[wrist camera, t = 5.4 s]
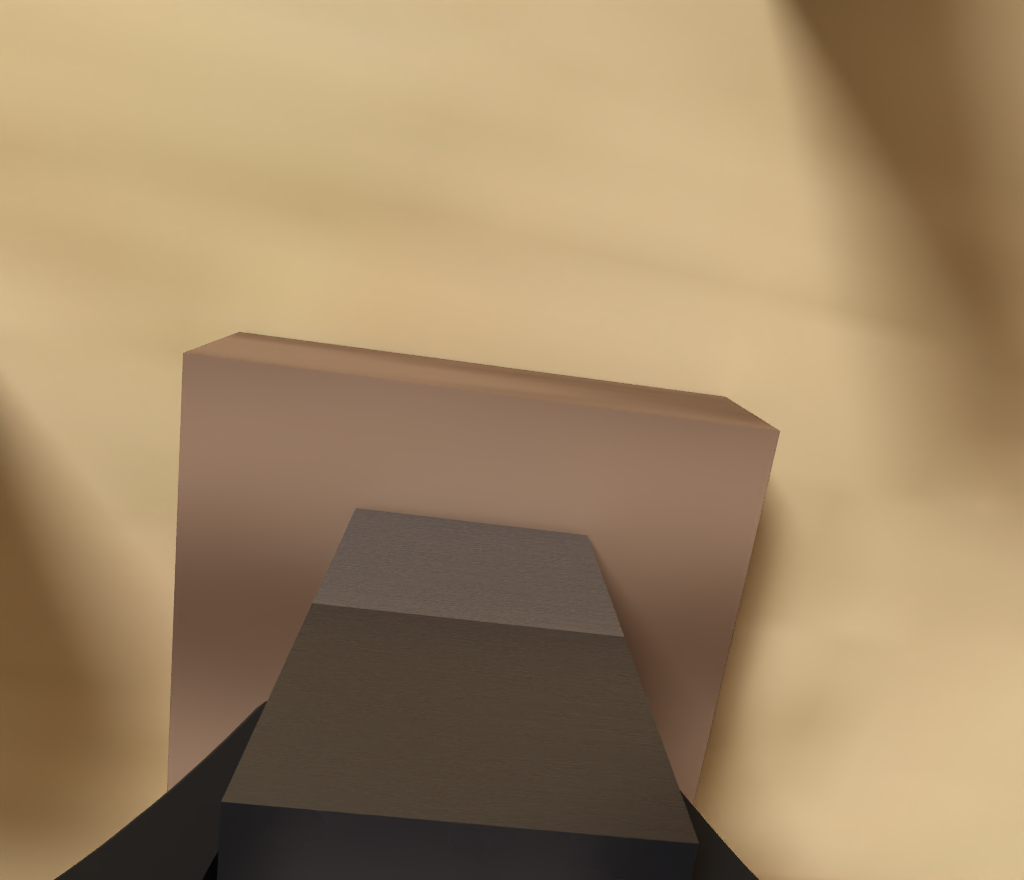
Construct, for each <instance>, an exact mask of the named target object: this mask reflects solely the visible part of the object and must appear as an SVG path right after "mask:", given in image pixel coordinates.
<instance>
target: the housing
mask: <svg viewBox="0 0 1024 880" xmlns="http://www.w3.org/2000/svg"><path fill="white" fill-rule="evenodd" d="M698 847H699V842H698V839H697V836H696V833H695V831H694V828H693V825H692V822H691V819H690V817H689V814H688V811H687V808H686V806H685V803H684V800H683V797H682V795H681V792H680V789H679V786H678V784H677V781H676V778H675V775H674V773H673V770H672V767H671V764H670V762H669V759H668V756H667V753H666V750H665V748H664V745H663V742H662V739H661V737H660V734H659V731H658V728H657V726H656V723H655V720H654V717H653V715H652V712H651V709H650V706H649V704H648V701H647V698H646V695H645V692H644V690H643V687H642V684H641V681H640V679H639V676H638V673H637V670H636V668H635V665H634V662H633V659H632V657H631V654H630V651H629V648H628V646H627V643H626V640H625V637H624V634H623V632H622V629H621V626H620V623H619V621H618V618H617V615H616V612H615V610H614V607H613V604H612V601H611V599H610V596H609V593H608V590H607V588H606V585H605V582H604V579H603V577H602V574H601V571H600V568H599V565H598V563H597V560H596V557H595V554H594V552H593V549H592V546H591V543H590V541H589V538H588V535H580V534H572V533H564V532H555V531H547V530H538V529H530V528H521V527H513V526H504V525H496V524H487V523H479V522H470V521H462V520H453V519H445V518H436V517H428V516H419V515H411V514H402V513H394V512H385V511H377V510H368V509H360V508H356V509H355V511H354V513H353V515H352V518H351V520H350V522H349V524H348V526H347V529H346V531H345V533H344V535H343V537H342V539H341V542H340V544H339V546H338V548H337V550H336V553H335V555H334V557H333V559H332V561H331V563H330V566H329V568H328V570H327V572H326V574H325V576H324V579H323V581H322V583H321V585H320V587H319V590H318V592H317V594H316V596H315V598H314V600H313V603H312V605H311V607H310V609H309V611H308V614H307V616H306V618H305V620H304V622H303V624H302V627H301V629H300V631H299V633H298V635H297V637H296V640H295V642H294V644H293V646H292V648H291V651H290V653H289V655H288V657H287V659H286V661H285V664H284V666H283V668H282V670H281V672H280V674H279V677H278V679H277V681H276V683H275V685H274V688H273V690H272V692H271V694H270V696H269V698H268V701H267V703H266V705H265V707H264V709H263V712H262V714H261V716H260V718H259V720H258V722H257V725H256V727H255V729H254V731H253V733H252V735H251V738H250V740H249V742H248V744H247V746H246V749H245V751H244V753H243V755H242V757H241V759H240V762H239V764H238V766H237V768H236V770H235V773H234V775H233V777H232V779H231V781H230V783H229V786H228V788H227V790H226V792H225V794H224V796H223V799H222V801H221V813H220V831H219V850H218V868H217V880H691V876H692V872H693V868H694V864H695V860H696V856H697V852H698Z"/></svg>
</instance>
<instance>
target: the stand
mask: <svg viewBox="0 0 1024 880" xmlns="http://www.w3.org/2000/svg"><path fill="white" fill-rule="evenodd" d="M779 433H780V431H779V430H778V429H776V428H774V427H773V426H771V425H770V424H768V423H766V422H765V421H763V420H762V419H760V418H758V417H757V416H755V415H754V414H752V413H750V412H749V411H747V410H746V409H744V408H742V407H741V406H739V405H738V404H736V403H734V402H733V401H731V400H730V399H728V398H726V397H722V396H715V395H707V394H700V393H692V392H685V391H677V390H670V389H662V388H655V387H647V386H640V385H632V384H625V383H617V382H610V381H602V380H595V379H587V378H580V377H572V376H565V375H557V374H550V373H542V372H535V371H527V370H520V369H512V368H505V367H497V366H490V365H482V364H475V363H467V362H460V361H452V360H445V359H437V358H430V357H422V356H415V355H407V354H400V353H392V352H385V351H377V350H370V349H362V348H355V347H347V346H340V345H332V344H325V343H317V342H310V341H302V340H295V339H287V338H280V337H272V336H265V335H257V334H250V333H242V332H238V333H236V334H233V335H230V336H228V337H225V338H222V339H220V340H217V341H214V342H212V343H209V344H206V345H203V346H201V347H198V348H195V349H193V350H190V351H187V352H185V353H183V371H182V399H181V426H180V454H179V481H178V509H177V536H176V563H175V591H174V618H173V646H172V673H171V701H170V728H169V755H168V783H167V792H168V791H169V790H170V789H171V788H172V787H173V786H174V785H176V784H177V783H178V782H179V781H180V780H181V779H182V778H183V777H185V776H186V775H187V774H188V773H189V772H190V771H191V770H192V769H194V768H195V767H196V766H197V765H198V764H199V763H200V762H201V761H202V760H204V759H205V758H206V757H207V756H208V755H209V754H210V753H211V752H212V751H213V750H214V749H215V748H216V747H217V746H218V745H219V744H220V743H222V742H223V741H224V740H225V739H226V738H227V737H228V736H229V735H230V734H231V733H232V732H233V731H234V730H235V729H236V728H237V727H238V726H239V725H240V724H241V723H242V722H243V721H244V720H245V719H246V718H247V717H248V716H249V715H250V714H251V713H252V712H253V711H254V710H255V709H256V708H257V707H258V706H260V705H261V704H262V703H264V702H265V701H268V698H269V696H270V694H271V692H272V690H273V688H274V685H275V683H276V681H277V679H278V677H279V674H280V672H281V670H282V668H283V666H284V664H285V661H286V659H287V657H288V655H289V653H290V651H291V648H292V646H293V644H294V642H295V640H296V637H297V635H298V633H299V631H300V629H301V627H302V624H303V622H304V620H305V618H306V616H307V614H308V611H309V609H310V607H311V605H312V603H313V600H314V598H315V596H316V594H317V592H318V590H319V587H320V585H321V583H322V581H323V579H324V576H325V574H326V572H327V570H328V568H329V566H330V563H331V561H332V559H333V557H334V555H335V553H336V550H337V548H338V546H339V544H340V542H341V539H342V537H343V535H344V533H345V531H346V529H347V526H348V524H349V522H350V520H351V518H352V515H353V513H354V511H355V509H356V508H360V509H368V510H377V511H385V512H394V513H402V514H411V515H419V516H428V517H436V518H445V519H453V520H462V521H470V522H479V523H487V524H496V525H504V526H513V527H521V528H530V529H538V530H547V531H555V532H564V533H572V534H580V535H588V538H589V541H590V543H591V546H592V549H593V552H594V554H595V557H596V560H597V563H598V565H599V568H600V571H601V574H602V577H603V579H604V582H605V585H606V588H607V590H608V593H609V596H610V599H611V601H612V604H613V607H614V610H615V612H616V615H617V618H618V621H619V623H620V626H621V629H622V632H623V634H624V637H625V640H626V643H627V646H628V648H629V651H630V654H631V657H632V659H633V662H634V665H635V668H636V670H637V673H638V676H639V679H640V681H641V684H642V687H643V690H644V692H645V695H646V698H647V701H648V704H649V706H650V709H651V712H652V715H653V717H654V720H655V723H656V726H657V728H658V731H659V734H660V737H661V739H662V742H663V745H664V748H665V750H666V753H667V756H668V759H669V762H670V764H671V767H672V770H673V773H674V775H675V778H676V781H677V784H678V786H679V789H680V790H681V792H682V793H683V794H684V795H685V796H686V798H687V799H688V800H689V801H690V803H691V804H692V805H693V803H694V799H695V795H696V790H697V786H698V782H699V778H700V773H701V769H702V765H703V760H704V756H705V752H706V747H707V743H708V739H709V735H710V730H711V726H712V722H713V717H714V713H715V709H716V704H717V700H718V696H719V692H720V687H721V683H722V679H723V674H724V670H725V666H726V661H727V657H728V653H729V648H730V644H731V640H732V636H733V631H734V627H735V623H736V618H737V614H738V610H739V605H740V601H741V597H742V593H743V588H744V584H745V580H746V575H747V571H748V567H749V562H750V558H751V554H752V550H753V545H754V541H755V537H756V532H757V528H758V524H759V519H760V515H761V511H762V507H763V502H764V498H765V494H766V489H767V485H768V481H769V476H770V472H771V468H772V464H773V459H774V455H775V451H776V446H777V442H778V438H779Z"/></svg>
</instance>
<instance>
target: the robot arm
mask: <svg viewBox="0 0 1024 880" xmlns="http://www.w3.org/2000/svg"><path fill="white" fill-rule="evenodd" d="M266 703H267V701H265V702H264V703H262V704H261V705H260V706H258V707H257V708H256V709H255V710H254V711H253V712H252V713H251V714H250V715H249V716H248V717H247V718H246V719H245V720H244V721H243V722H242V723H241V724H240V725H239V726H238V727H237V728H236V729H235V730H234V731H233V732H232V733H231V734H230V735H229V736H228V737H227V738H226V739H225V740H224V741H223V742H222V743H220V744H219V745H218V746H217V747H216V748H215V749H214V750H213V751H212V752H211V753H210V754H209V755H208V756H207V757H206V758H205V759H204V760H202V761H201V762H200V763H199V764H198V765H197V766H196V767H195V768H194V769H192V770H191V771H190V772H189V773H188V774H187V775H186V776H185V777H183V778H182V779H181V780H180V781H179V782H178V783H177V784H176V785H174V786H173V787H172V788H171V789H170V790H169V791H168V792H167V793H165V794H164V795H163V796H162V797H161V798H160V799H158V800H157V801H156V802H155V803H154V804H152V805H151V806H150V807H149V808H148V809H146V810H145V811H144V812H143V813H141V814H140V815H139V816H138V817H136V818H135V819H134V820H133V821H131V822H130V823H129V824H128V825H126V826H125V827H124V828H123V829H121V830H120V831H119V832H118V833H117V834H115V835H114V836H113V837H112V838H110V839H109V840H108V841H107V842H105V843H104V844H103V845H101V846H100V847H99V848H97V849H96V850H95V851H93V852H92V853H91V854H89V855H88V856H87V857H85V858H84V859H83V860H81V861H80V862H78V863H77V864H76V865H74V866H73V867H71V868H70V869H69V870H67V871H66V872H65V873H63V874H62V875H60V876H59V877H57V878H56V879H54V880H217V868H218V850H219V831H220V813H221V801H222V799H223V796H224V794H225V792H226V790H227V788H228V786H229V783H230V781H231V779H232V777H233V775H234V773H235V770H236V768H237V766H238V764H239V762H240V759H241V757H242V755H243V753H244V751H245V749H246V746H247V744H248V742H249V740H250V738H251V735H252V733H253V731H254V729H255V727H256V725H257V722H258V720H259V718H260V716H261V714H262V712H263V709H264V707H265V705H266ZM680 792H681V790H680ZM681 795H682V797H683V800H684V803H685V806H686V808H687V811H688V814H689V817H690V819H691V822H692V825H693V828H694V831H695V833H696V836H697V839H698V842H699V847H698V852H697V856H696V860H695V864H694V868H693V872H692V876H691V880H759V879H758V878H757V877H756V876H755V875H754V874H753V873H752V872H751V871H750V870H749V869H748V868H747V867H746V866H745V865H744V864H743V862H742V861H741V860H740V859H739V858H738V857H737V856H736V855H735V854H734V853H733V851H732V850H731V849H730V848H729V847H728V846H727V845H726V844H725V842H724V841H723V840H722V839H721V838H720V837H719V836H718V835H717V833H716V832H715V831H714V830H713V829H712V828H711V826H710V825H709V824H708V823H707V822H706V821H705V819H704V818H703V817H702V816H701V815H700V813H699V812H698V811H697V810H696V809H695V807H694V806H693V805H692V804H691V803H690V801H689V800H688V799H687V798H686V796H685V795H684V794H683V793H682V792H681Z"/></svg>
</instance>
